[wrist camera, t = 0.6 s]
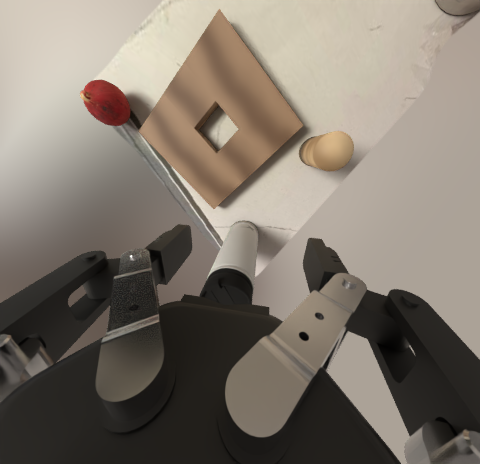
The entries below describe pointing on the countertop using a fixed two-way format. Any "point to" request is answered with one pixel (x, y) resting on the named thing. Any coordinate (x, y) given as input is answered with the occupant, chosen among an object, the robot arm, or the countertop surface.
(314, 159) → the oak peg
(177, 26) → the countertop surface
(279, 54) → the countertop surface
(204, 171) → the walnut board
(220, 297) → the travel mug
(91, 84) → the red egg-shaped piece
